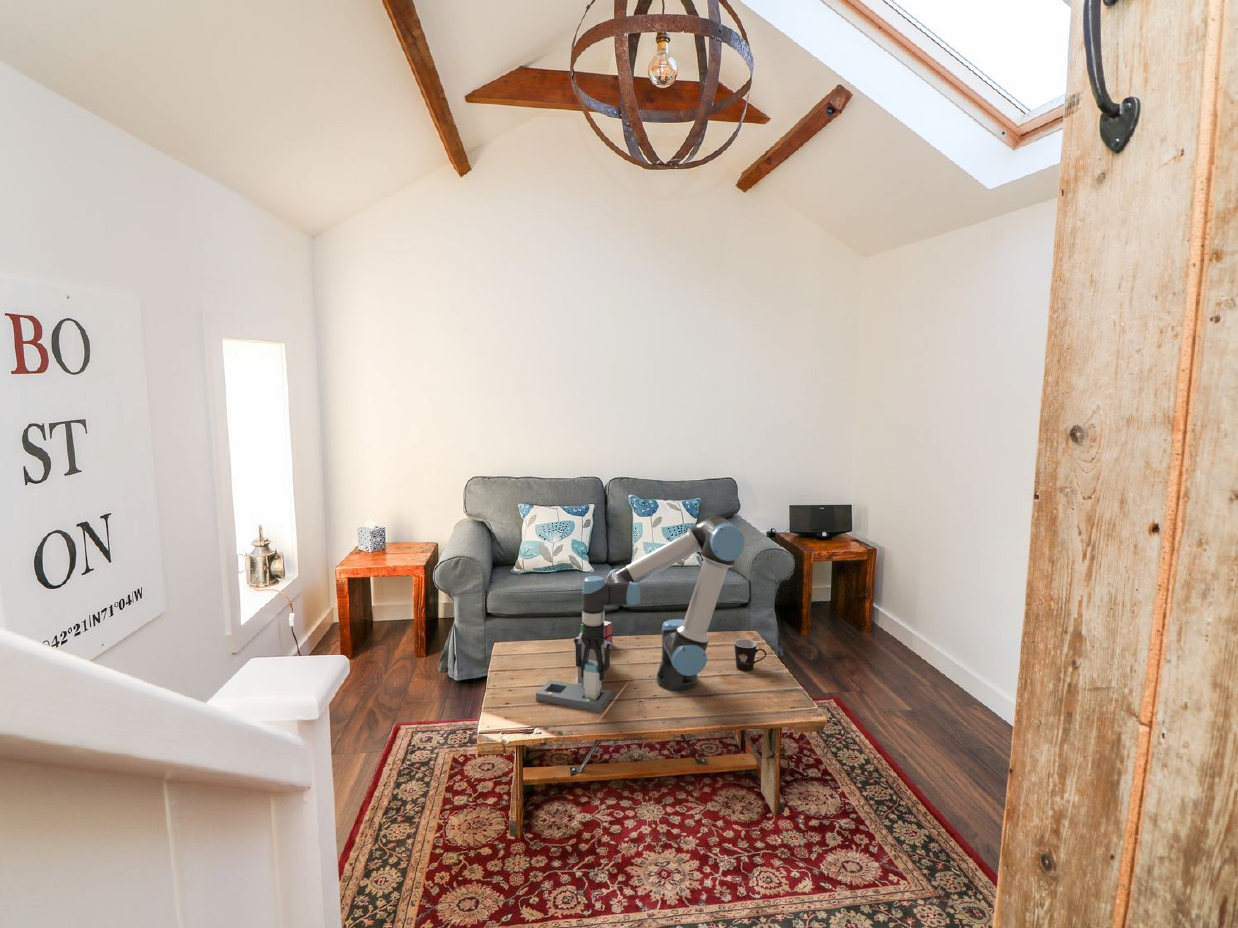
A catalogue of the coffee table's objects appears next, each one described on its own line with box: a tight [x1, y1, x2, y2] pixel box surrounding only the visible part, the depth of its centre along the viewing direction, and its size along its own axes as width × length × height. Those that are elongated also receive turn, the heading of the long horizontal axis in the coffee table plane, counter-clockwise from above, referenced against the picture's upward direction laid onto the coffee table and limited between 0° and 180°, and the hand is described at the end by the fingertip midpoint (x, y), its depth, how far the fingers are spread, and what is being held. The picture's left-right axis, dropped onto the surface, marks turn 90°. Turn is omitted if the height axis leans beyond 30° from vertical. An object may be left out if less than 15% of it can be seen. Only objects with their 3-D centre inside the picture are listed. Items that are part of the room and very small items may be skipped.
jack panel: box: [535, 679, 613, 713], centre depth 233 cm, size 24×11×3 cm, turn 71°
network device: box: [574, 622, 605, 686], centre depth 252 cm, size 26×9×20 cm, turn 168°
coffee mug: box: [734, 638, 767, 673], centre depth 258 cm, size 12×9×10 cm
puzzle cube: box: [579, 620, 613, 651], centre depth 279 cm, size 10×10×10 cm
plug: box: [585, 660, 600, 700], centre depth 230 cm, size 4×4×12 cm
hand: (592, 687), depth 230 cm, fingers closed on plug, 4 cm apart
